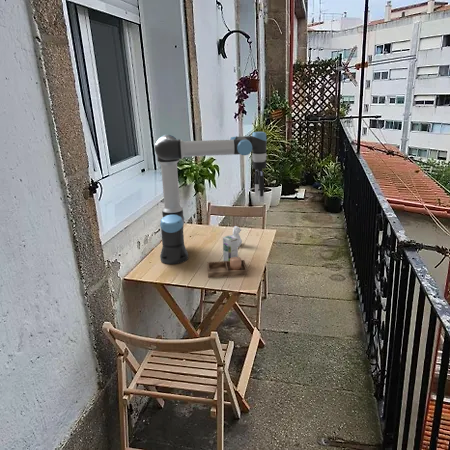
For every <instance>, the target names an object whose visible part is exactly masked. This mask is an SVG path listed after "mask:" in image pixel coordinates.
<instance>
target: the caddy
mask: <svg viewBox="0 0 450 450" xmlns="http://www.w3.org/2000/svg"><path fill="white" fill-rule="evenodd" d="M206 266H207V267H206V269H207V278H221V277H222V278H224V277H236V276H237V277H238V276H248V267H247V265H246V261H245V259H241V270H232V271H230V261H209V262H207V263H206Z"/></svg>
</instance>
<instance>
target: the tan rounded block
mask: <svg viewBox="0 0 450 450" xmlns="http://www.w3.org/2000/svg"><path fill="white" fill-rule="evenodd" d="M241 260H242V258H241V257H239V256H238V257H232V258H230V271H232V270H241Z"/></svg>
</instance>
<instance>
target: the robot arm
mask: <svg viewBox="0 0 450 450" xmlns="http://www.w3.org/2000/svg"><path fill="white" fill-rule="evenodd" d="M267 141H268V140H267V133H266V132H265V131H253V132H252V135H249V136H248V135H247V136H246V135H245V136H232V137H230V138H229V139H220V140H219V139H216V140H212V139H211V140H188V141H187V140H185V141H184V140H182V138H180V139H179V138H178V139H177V138H176V137H175V136H173V135H171V134H163V135H162V136H160V137H159V138H158V139H157V141H156V142H155V144H154V152H155V155H156V157H157V159H156V160H157V163H159V164H160V170H161V181H162V190H163V191H162V193H163V202H164V203H163V204H164V205H163V208H162V210H161V213H162V218H161V219H160V230H161V231H160V233H161V242H162V248H161V251H160V256H159V257H160V258H159V259H160V261H161V262H162V263H163V264H167V265H177V264H183V263H184V262H187V260H188V259H189V252H188V251H187V248H186V246H185V236H184V224H185V217H184V210H183V207H182V206H181V204H180V203H181V202H180V190H179V175H178V173H179V172H178V163H179V161H180V160H183V159H184V158H186V157H207V156H208V157H210V156H227V155H228V156H229V155H230V156H233V155H241V156H248V155H250V154H252V155H251V157H252V158H251V160H252V169H254V170H255V171H254V180H253V181H254V196H256V197H257V196H258V202H259V203H264V202H265V189H266V188H265V186H266V185H265V178H264V177H265V172H264V171H263V170H264V169H266V168H267V161H266V160H267V157H268V154H267Z"/></svg>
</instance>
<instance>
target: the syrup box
mask: <svg viewBox="0 0 450 450" xmlns="http://www.w3.org/2000/svg"><path fill="white" fill-rule="evenodd" d="M222 247H223V248H222V250H223V255H222V256H223V261H230V258H232V257H239V252H238V251H239V250H238V249H239V247H238V238H236V237H234V236H232V235H231V234H230V235H226V236H223V237H222Z"/></svg>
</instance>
